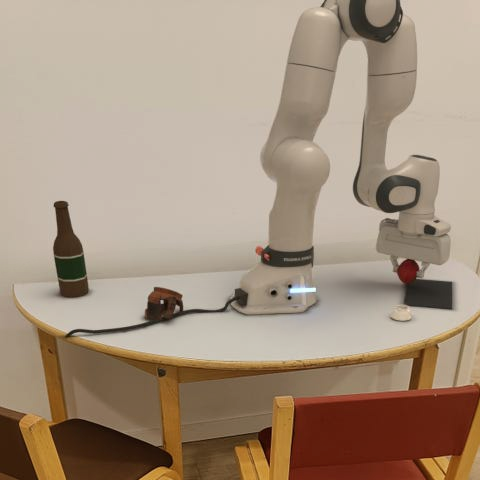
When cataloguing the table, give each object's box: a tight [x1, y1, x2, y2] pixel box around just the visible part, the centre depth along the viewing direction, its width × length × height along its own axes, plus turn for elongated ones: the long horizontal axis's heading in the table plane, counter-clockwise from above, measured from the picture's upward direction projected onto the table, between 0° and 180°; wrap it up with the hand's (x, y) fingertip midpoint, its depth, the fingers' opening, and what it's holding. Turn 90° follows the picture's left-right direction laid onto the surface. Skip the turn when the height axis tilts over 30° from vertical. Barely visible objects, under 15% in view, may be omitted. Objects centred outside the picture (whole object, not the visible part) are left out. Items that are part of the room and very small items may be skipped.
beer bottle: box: [52, 200, 90, 298], centre depth 158 cm, size 8×8×24 cm
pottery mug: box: [144, 286, 184, 323], centre depth 148 cm, size 12×10×8 cm
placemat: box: [403, 278, 453, 311], centre depth 162 cm, size 22×12×1 cm, turn 163°
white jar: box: [390, 304, 413, 322], centre depth 146 cm, size 5×3×5 cm
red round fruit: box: [396, 258, 420, 286], centre depth 163 cm, size 6×6×8 cm
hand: (408, 274), depth 164 cm, fingers closed on red round fruit, 6 cm apart
